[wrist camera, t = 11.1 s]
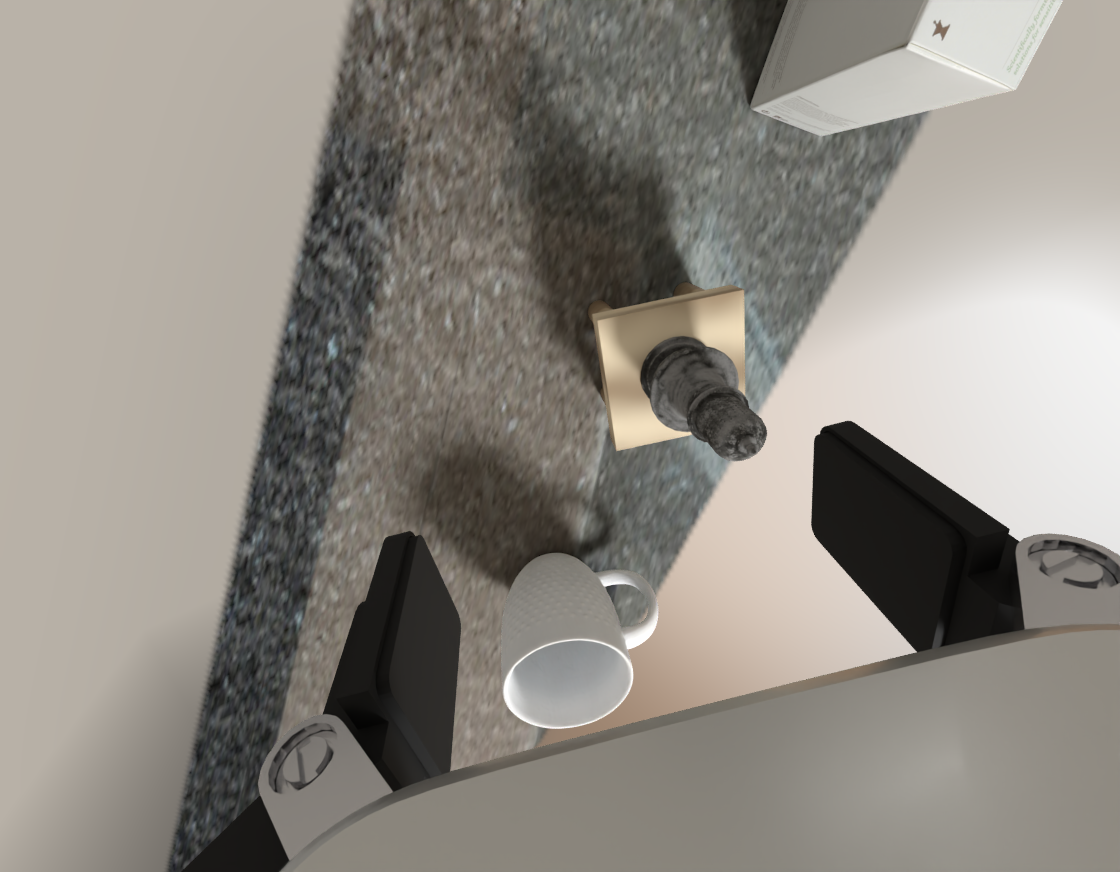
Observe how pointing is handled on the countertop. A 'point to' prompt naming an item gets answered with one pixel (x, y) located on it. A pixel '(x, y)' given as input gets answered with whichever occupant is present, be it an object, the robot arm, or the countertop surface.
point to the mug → (568, 642)
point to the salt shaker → (701, 397)
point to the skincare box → (894, 58)
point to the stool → (644, 327)
